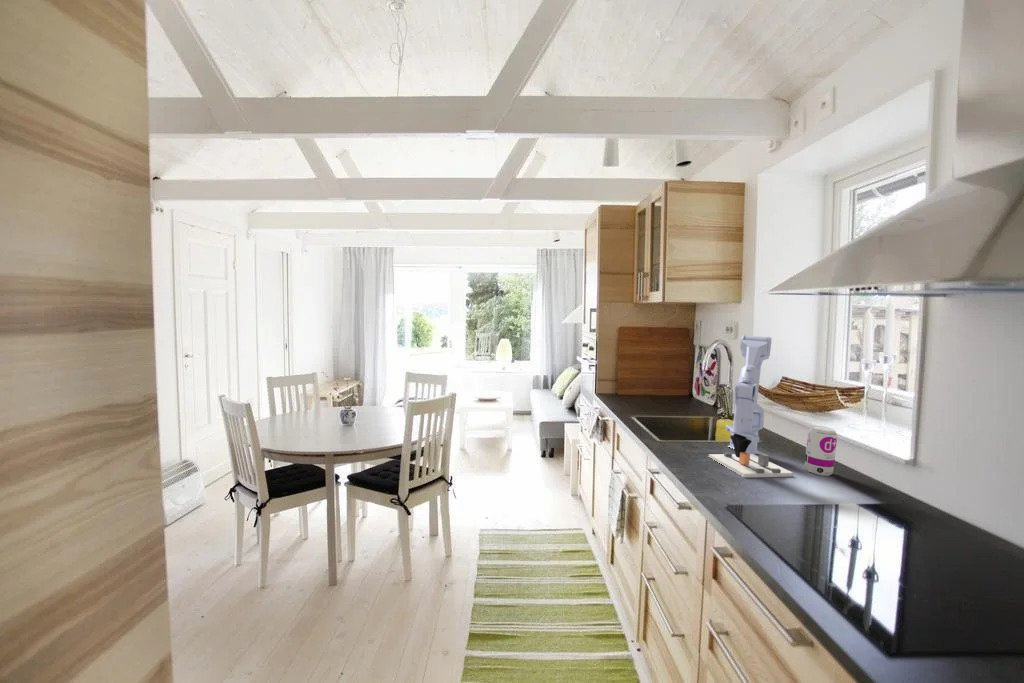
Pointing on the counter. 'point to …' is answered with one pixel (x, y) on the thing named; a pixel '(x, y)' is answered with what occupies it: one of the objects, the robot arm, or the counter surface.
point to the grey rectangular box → (763, 459)
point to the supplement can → (820, 450)
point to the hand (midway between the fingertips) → (739, 457)
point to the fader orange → (744, 458)
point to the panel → (750, 466)
